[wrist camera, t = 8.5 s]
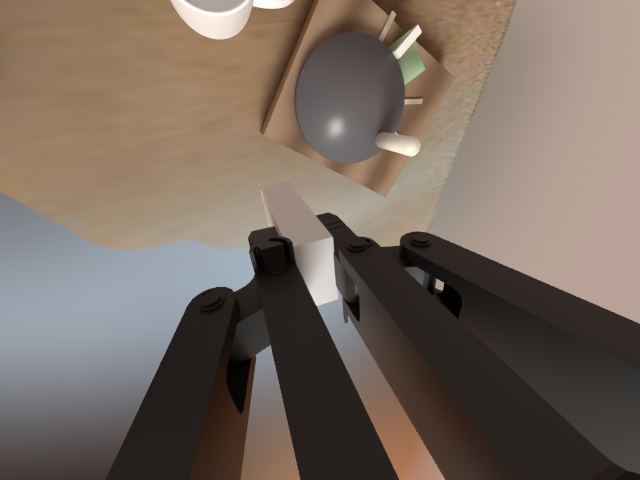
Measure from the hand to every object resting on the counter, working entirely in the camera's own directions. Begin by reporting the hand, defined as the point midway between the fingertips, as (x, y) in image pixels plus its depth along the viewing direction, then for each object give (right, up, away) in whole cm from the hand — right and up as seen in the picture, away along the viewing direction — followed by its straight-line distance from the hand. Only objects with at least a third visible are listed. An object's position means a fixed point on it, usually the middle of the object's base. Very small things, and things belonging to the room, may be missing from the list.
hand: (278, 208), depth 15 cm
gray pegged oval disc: (+7, +16, +18) cm, 26 cm away
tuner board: (+7, +17, +23) cm, 29 cm away
